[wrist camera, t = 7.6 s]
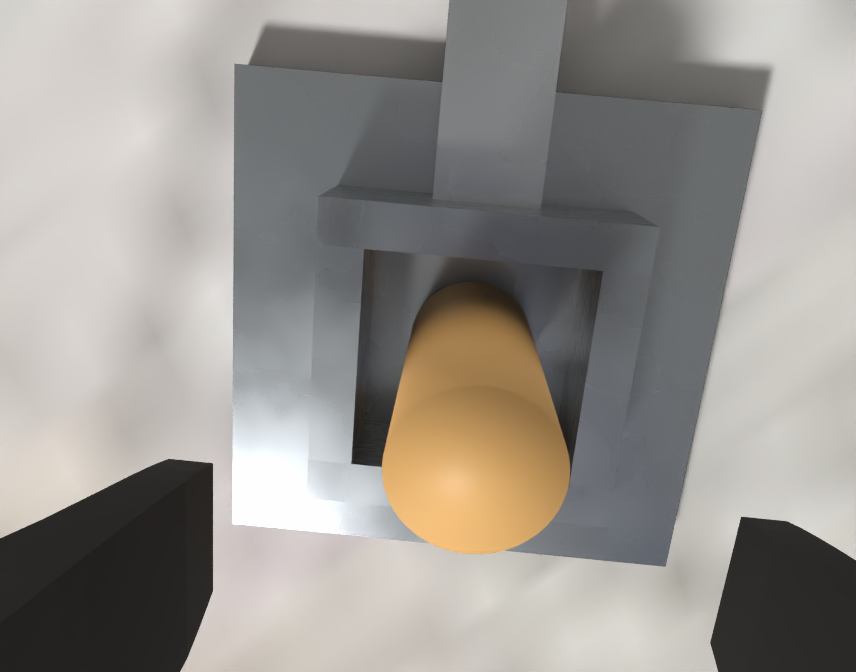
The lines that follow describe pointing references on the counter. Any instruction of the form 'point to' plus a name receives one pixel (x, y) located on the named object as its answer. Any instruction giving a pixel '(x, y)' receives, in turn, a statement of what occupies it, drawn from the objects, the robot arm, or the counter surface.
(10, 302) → the counter surface
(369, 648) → the counter surface
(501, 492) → the round-ended pin
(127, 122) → the counter surface
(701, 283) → the grey slotted socket block
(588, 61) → the counter surface
